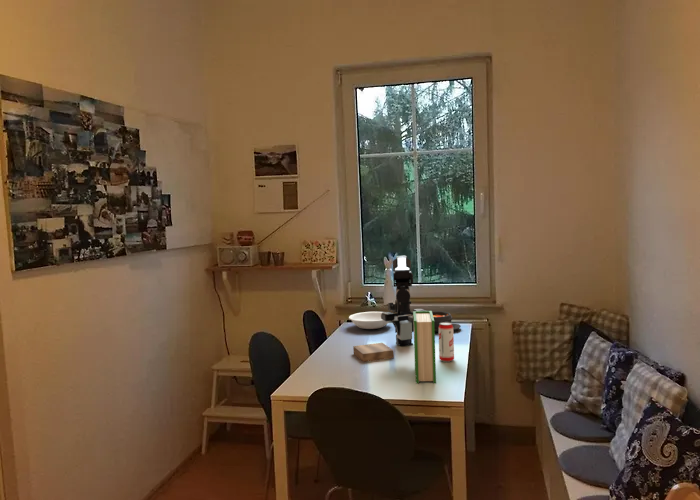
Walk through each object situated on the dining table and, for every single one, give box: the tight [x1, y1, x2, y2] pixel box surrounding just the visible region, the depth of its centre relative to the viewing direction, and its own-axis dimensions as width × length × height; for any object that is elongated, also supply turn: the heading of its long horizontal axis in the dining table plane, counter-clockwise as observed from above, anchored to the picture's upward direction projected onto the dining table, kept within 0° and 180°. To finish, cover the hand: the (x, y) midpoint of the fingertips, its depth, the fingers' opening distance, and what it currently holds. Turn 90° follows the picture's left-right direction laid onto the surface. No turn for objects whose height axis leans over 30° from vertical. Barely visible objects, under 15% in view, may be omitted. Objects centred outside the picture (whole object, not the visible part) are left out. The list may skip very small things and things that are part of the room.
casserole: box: [431, 310, 461, 333], centre depth 296 cm, size 25×19×8 cm
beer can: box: [438, 322, 455, 363], centre depth 240 cm, size 6×6×16 cm
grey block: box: [396, 320, 413, 340], centre depth 242 cm, size 5×5×7 cm
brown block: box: [352, 342, 395, 363], centre depth 253 cm, size 14×14×4 cm
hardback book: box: [412, 310, 437, 385], centre depth 221 cm, size 18×7×24 cm, turn 175°
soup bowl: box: [348, 311, 390, 330], centre depth 305 cm, size 24×24×7 cm
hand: (404, 334), depth 242 cm, fingers closed on grey block, 5 cm apart
